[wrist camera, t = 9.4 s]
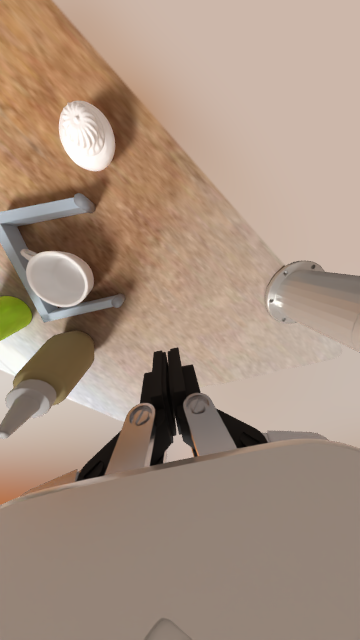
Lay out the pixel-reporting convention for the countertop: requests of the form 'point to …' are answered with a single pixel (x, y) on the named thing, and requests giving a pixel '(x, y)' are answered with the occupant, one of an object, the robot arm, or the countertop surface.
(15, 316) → the soap dispenser
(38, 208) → the bay
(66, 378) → the squeeze bottle
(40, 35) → the countertop surface
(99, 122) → the muffin
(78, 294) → the teacup
